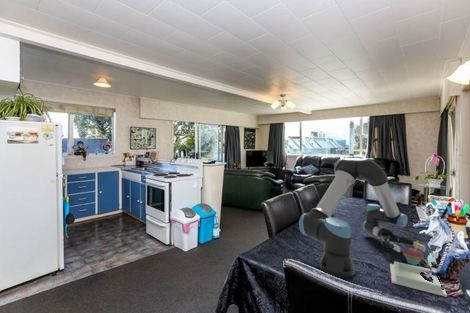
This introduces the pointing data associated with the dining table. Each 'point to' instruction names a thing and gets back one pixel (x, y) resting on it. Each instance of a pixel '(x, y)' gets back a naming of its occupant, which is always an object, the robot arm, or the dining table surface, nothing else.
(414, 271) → the pastry tray
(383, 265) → the dining table surface
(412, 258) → the cupcake
